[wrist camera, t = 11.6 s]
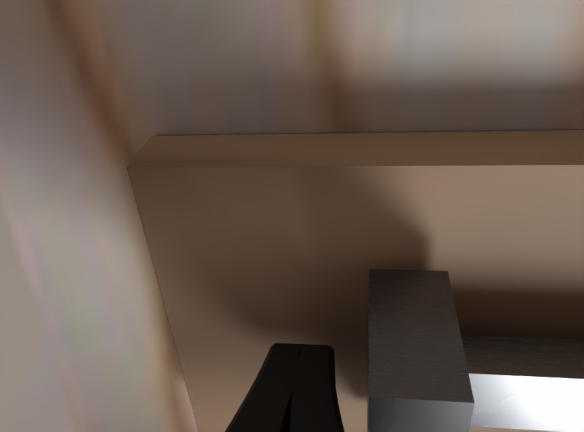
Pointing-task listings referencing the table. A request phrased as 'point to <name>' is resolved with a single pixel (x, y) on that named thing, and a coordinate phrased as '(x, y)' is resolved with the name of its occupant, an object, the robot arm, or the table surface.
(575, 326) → the press bed
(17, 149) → the table surface
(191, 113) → the table surface
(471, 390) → the ram
